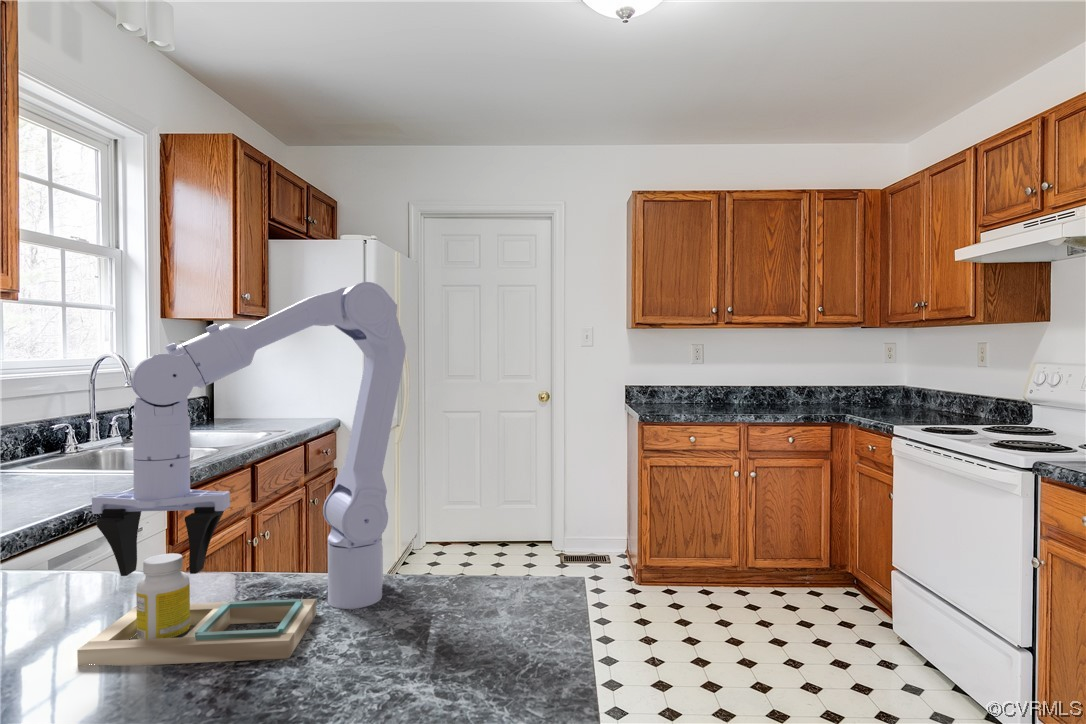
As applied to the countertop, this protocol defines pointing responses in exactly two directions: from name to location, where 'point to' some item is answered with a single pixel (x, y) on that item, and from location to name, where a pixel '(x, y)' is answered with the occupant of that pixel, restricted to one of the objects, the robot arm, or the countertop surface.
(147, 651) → the panel
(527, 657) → the countertop surface
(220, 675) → the countertop surface
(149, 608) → the supplement bottle
